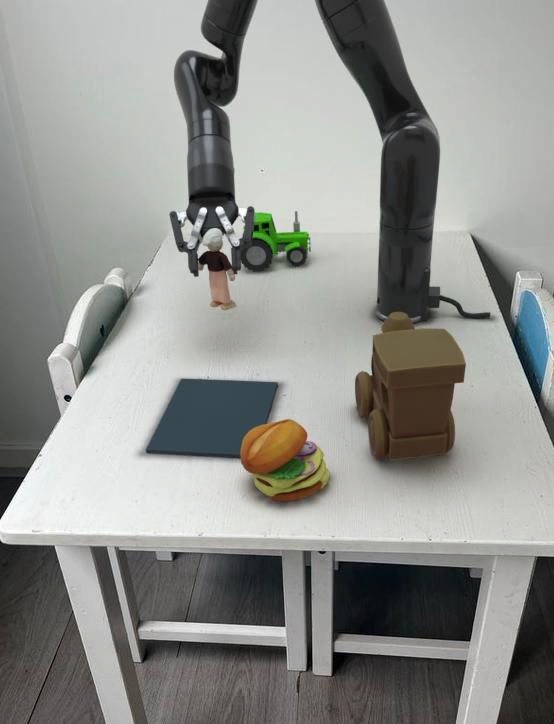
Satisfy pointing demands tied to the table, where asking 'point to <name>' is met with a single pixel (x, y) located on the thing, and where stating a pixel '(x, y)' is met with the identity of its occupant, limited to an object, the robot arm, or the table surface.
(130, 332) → the table surface
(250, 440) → the cheeseburger
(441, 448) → the wooden toy train
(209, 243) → the grandmother figurine
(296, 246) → the toy tractor
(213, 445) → the mat
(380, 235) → the robot arm
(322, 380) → the table surface
